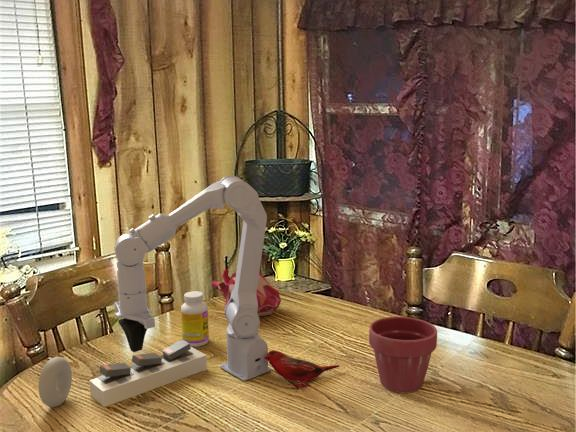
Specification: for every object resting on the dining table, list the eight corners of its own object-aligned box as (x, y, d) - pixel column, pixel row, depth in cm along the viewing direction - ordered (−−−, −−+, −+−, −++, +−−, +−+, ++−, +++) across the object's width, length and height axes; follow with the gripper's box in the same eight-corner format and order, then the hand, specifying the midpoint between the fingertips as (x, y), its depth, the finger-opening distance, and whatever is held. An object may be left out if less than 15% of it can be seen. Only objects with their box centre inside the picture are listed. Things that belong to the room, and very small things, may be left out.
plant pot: (412, 364, 144) (413, 311, 141) (448, 391, 131) (451, 334, 128) (357, 375, 138) (357, 321, 136) (389, 404, 126) (390, 345, 123)
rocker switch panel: (206, 369, 142) (206, 353, 141) (104, 407, 126) (102, 389, 125) (191, 360, 147) (190, 344, 146) (90, 395, 131) (89, 378, 130)
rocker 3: (190, 348, 142) (189, 343, 142) (170, 360, 139) (169, 354, 138) (183, 344, 144) (182, 338, 144) (163, 355, 141) (161, 350, 141)
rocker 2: (161, 363, 137) (162, 357, 137) (138, 366, 134) (139, 359, 134) (153, 358, 140) (154, 352, 140) (131, 361, 136) (132, 354, 136)
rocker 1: (130, 374, 133) (130, 367, 132) (105, 377, 129) (106, 370, 129) (123, 369, 135) (124, 362, 135) (99, 372, 131) (100, 365, 131)
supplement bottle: (206, 347, 154) (204, 298, 151) (180, 347, 154) (177, 298, 151) (210, 336, 161) (208, 289, 158) (185, 337, 161) (182, 289, 158)
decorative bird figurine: (267, 390, 132) (260, 355, 140) (345, 391, 136) (334, 357, 145) (270, 381, 130) (263, 346, 138) (348, 382, 135) (337, 348, 143)
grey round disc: (61, 391, 133) (57, 348, 131) (76, 392, 133) (72, 349, 130) (37, 416, 123) (32, 369, 121) (54, 417, 123) (49, 370, 121)
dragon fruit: (274, 299, 186) (211, 278, 182) (289, 272, 178) (223, 250, 174) (269, 335, 175) (202, 314, 171) (285, 308, 167) (215, 286, 164)
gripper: (99, 286, 135) (104, 345, 137) (131, 303, 124) (135, 366, 127) (129, 279, 139) (133, 336, 142) (162, 295, 128) (166, 356, 131)
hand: (136, 350), depth 135 cm, fingers closed
